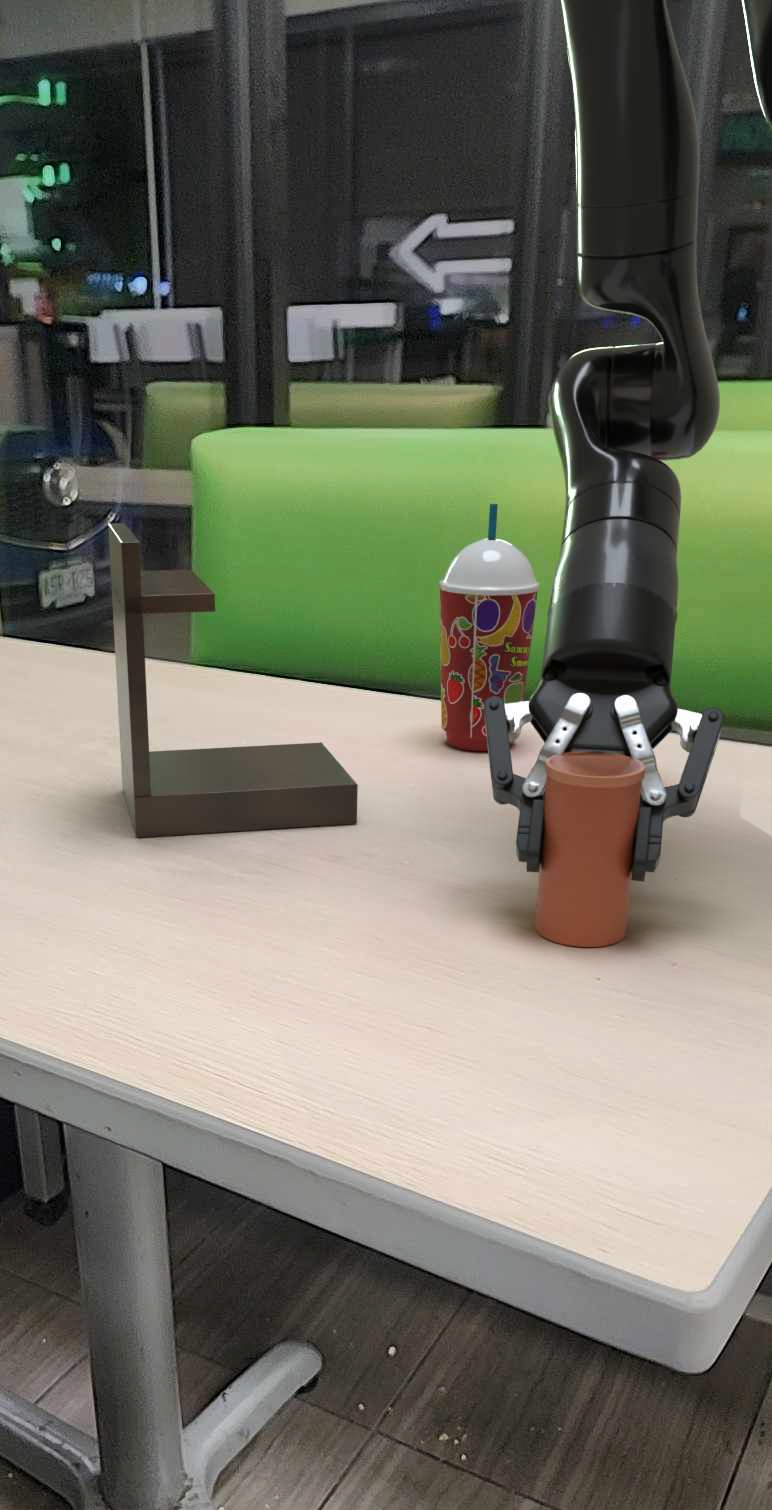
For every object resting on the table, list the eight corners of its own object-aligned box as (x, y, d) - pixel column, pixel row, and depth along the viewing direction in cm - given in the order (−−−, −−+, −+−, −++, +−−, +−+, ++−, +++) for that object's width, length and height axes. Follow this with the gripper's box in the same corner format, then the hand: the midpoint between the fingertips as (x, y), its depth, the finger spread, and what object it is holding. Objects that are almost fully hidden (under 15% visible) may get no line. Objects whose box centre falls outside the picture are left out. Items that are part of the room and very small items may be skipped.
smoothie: (524, 758, 112) (543, 509, 104) (426, 753, 114) (437, 507, 106) (530, 734, 120) (547, 500, 111) (437, 729, 121) (448, 499, 113)
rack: (321, 778, 107) (323, 518, 99) (357, 824, 96) (362, 535, 88) (122, 790, 104) (108, 523, 96) (136, 838, 93) (121, 542, 85)
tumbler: (604, 909, 80) (620, 748, 76) (643, 944, 76) (662, 774, 72) (520, 916, 80) (531, 753, 75) (553, 952, 75) (567, 779, 71)
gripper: (489, 574, 78) (453, 831, 72) (745, 582, 75) (728, 851, 69) (493, 648, 85) (460, 888, 79) (727, 658, 82) (711, 909, 76)
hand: (585, 869), depth 74 cm, fingers closed on tumbler, 5 cm apart
